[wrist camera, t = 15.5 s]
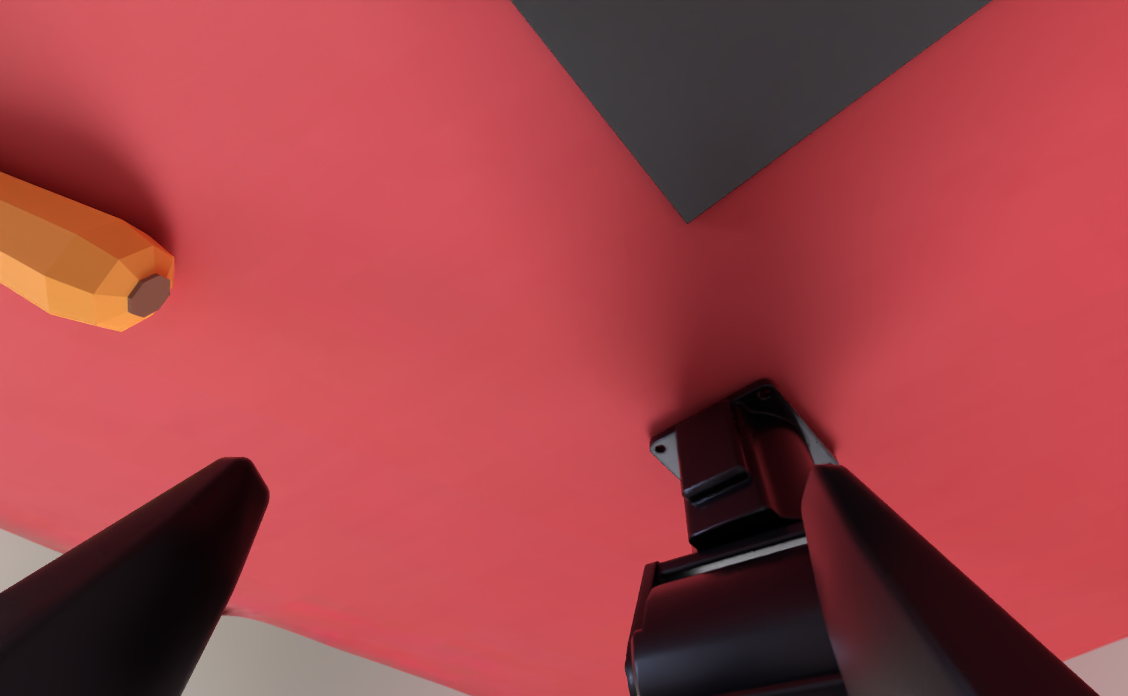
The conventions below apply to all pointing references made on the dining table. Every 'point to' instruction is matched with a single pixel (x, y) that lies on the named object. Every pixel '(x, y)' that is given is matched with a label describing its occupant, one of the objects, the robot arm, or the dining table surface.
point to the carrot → (79, 259)
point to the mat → (730, 74)
